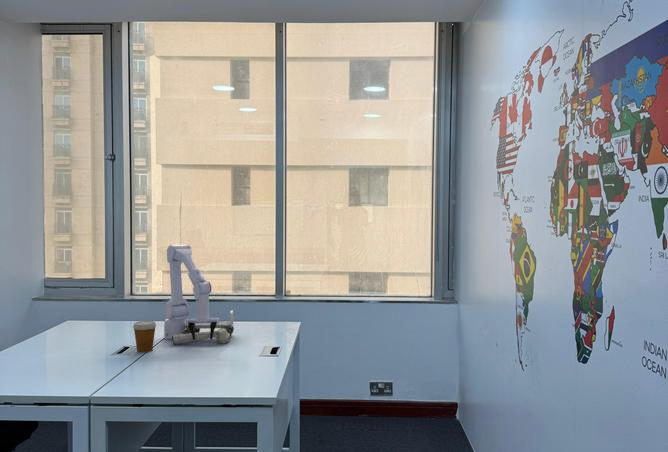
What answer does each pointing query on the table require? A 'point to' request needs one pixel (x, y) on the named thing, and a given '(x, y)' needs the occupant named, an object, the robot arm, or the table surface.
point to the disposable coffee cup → (144, 335)
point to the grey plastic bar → (202, 336)
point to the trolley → (198, 326)
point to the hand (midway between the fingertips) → (202, 339)
